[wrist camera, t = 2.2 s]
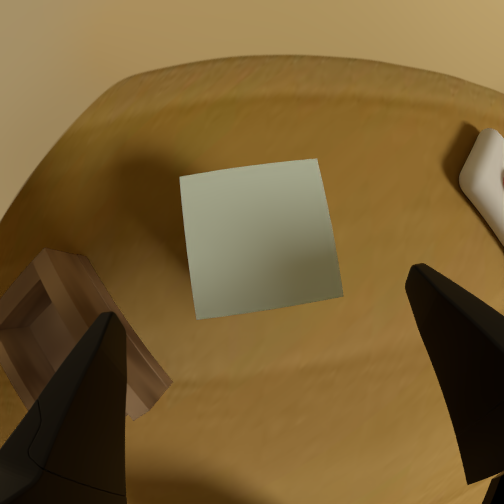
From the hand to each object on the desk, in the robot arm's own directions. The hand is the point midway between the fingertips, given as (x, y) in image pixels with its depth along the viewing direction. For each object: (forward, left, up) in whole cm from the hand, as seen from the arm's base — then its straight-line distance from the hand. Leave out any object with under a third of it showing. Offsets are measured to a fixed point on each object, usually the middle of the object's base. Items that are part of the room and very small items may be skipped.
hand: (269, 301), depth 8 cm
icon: (+14, -20, -10) cm, 26 cm away
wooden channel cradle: (-7, +10, -9) cm, 16 cm away
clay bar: (+2, +1, -10) cm, 10 cm away
